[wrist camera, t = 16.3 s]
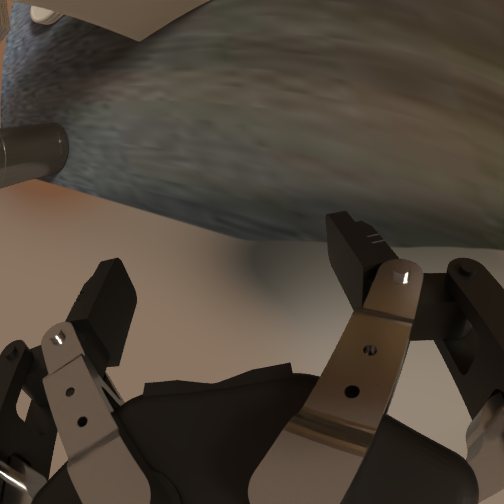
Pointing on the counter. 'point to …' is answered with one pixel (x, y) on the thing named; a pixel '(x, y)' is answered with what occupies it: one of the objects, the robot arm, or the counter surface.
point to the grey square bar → (4, 19)
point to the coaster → (44, 15)
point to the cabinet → (122, 13)
